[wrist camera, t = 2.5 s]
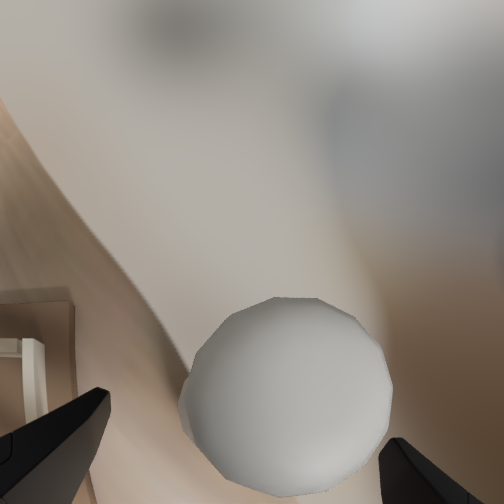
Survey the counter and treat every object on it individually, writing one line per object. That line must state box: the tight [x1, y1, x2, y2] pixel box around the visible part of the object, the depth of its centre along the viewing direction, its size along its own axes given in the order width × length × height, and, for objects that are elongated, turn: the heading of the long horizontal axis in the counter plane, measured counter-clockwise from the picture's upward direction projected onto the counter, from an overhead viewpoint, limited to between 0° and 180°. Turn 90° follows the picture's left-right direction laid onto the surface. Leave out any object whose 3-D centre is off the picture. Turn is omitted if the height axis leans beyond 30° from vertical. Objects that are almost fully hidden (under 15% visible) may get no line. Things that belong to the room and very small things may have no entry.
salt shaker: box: [177, 297, 393, 497], centre depth 10 cm, size 6×6×13 cm
